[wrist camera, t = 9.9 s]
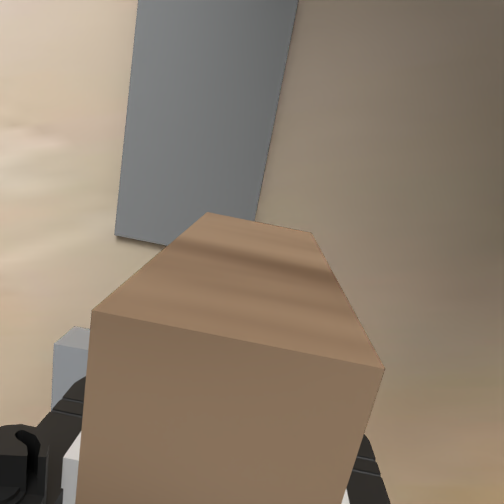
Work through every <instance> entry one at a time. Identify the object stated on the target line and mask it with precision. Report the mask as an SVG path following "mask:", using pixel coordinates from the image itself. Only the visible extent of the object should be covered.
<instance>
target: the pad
mask: <svg viewBox="0 0 504 504" xmlns="http://www.w3.org/2000/svg"><path fill="white" fill-rule="evenodd" d="M297 5H298V0H138V8H137V18H136V27H135V37H134V47H133V57H132V67H131V77H130V86H129V96H128V106H127V116H126V126H125V136H124V145H123V155H122V165H121V175H120V185H119V195H118V205H117V214H116V224H115V234H114V235H116V236H121V237H126V238H131V239H136V240H141V241H146V242H151V243H156V244H161V245H166V246H168V245H169V244H170V243H171V242H173V241H174V240H175V239H176V238H177V237H178V236H180V235H181V234H182V233H183V232H184V231H185V230H187V229H188V228H189V227H190V226H191V225H193V224H194V223H195V222H196V221H197V220H198V219H200V218H201V217H202V216H203V215H204V214H205V213H207V212H210V213H215V214H220V215H225V216H230V217H235V218H240V219H245V220H250V221H254V220H255V215H256V210H257V205H258V200H259V195H260V190H261V185H262V180H263V175H264V170H265V165H266V160H267V155H268V150H269V145H270V140H271V135H272V130H273V125H274V120H275V115H276V110H277V105H278V100H279V95H280V90H281V85H282V80H283V75H284V70H285V65H286V60H287V55H288V50H289V45H290V40H291V35H292V30H293V25H294V20H295V15H296V10H297Z"/></svg>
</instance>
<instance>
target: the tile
mask: <svg viewBox="0 0 504 504" xmlns="http://www.w3.org/2000/svg"><path fill="white" fill-rule="evenodd" d="M89 337H90V329H86V328H81V327H75V326H74V327H73V328H72V329H71V330H70V331H68V332H67V333H66V334H65V335H64V336H63V337H61V338H60V339H59V340H58V341H57V342H56V343H54V354H53V379H52V403H51V411H52V408H53V407H54V406H55V405H56V404H57V403H58V401H59V400H62V397H63V396H64V394H65V393H66V392H67V391H68V390H69V389H70V387H71V386H72V385H73V384H74V383H75V382H77V381H78V380H80V379H82V378H83V377H85V376H86V372H87V360H88V348H89Z"/></svg>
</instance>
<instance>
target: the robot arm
mask: <svg viewBox="0 0 504 504" xmlns="http://www.w3.org/2000/svg"><path fill="white" fill-rule="evenodd" d="M85 383H86V376H85V377H83V378H82V379H80V380H78V381H77V382H75V383H74V384H73V385H72V386H71V387H70V389H69V390H68V391H67V392H66V393H65V394H64V396H63V397H62V400H59V401H58V403H57V404H56V405H55V406H54V407H53V408H52V411H51V412H49V413H48V414H47V415H46V417H45V418H44V419H43V420H42V421H41V422H40V424H39V425H38V426H37V427H32V426H27V425H23V424H19V425H5V426H1V427H0V504H75V500H76V488H77V476H78V465H79V453H80V441H81V430H82V418H83V406H84V395H85ZM341 504H390V501H389V498H388V495H387V492H386V489H385V486H384V483H383V480H382V478H381V477H380V471H379V468H378V465H377V462H375V456H374V453H373V450H372V447H371V444H370V441H369V440H368V438H367V437H366V436H365V434H364V435H363V438H362V441H361V444H360V447H359V451H358V454H357V457H356V460H355V463H354V466H353V469H352V472H351V475H350V478H349V481H348V484H347V487H346V490H345V494H344V497H343V500H342V503H341Z"/></svg>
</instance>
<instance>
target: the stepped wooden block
mask: <svg viewBox="0 0 504 504" xmlns="http://www.w3.org/2000/svg"><path fill="white" fill-rule="evenodd" d="M384 371H385V368H384V366H383V364H382V362H381V360H380V359H379V357H378V355H377V353H376V351H375V349H374V347H373V346H372V344H371V342H370V340H369V338H368V336H367V335H366V333H365V331H364V329H363V327H362V325H361V323H360V322H359V320H358V318H357V316H356V314H355V312H354V311H353V309H352V307H351V305H350V303H349V301H348V299H347V298H346V296H345V294H344V292H343V290H342V288H341V286H340V285H339V283H338V281H337V279H336V277H335V275H334V274H333V272H332V270H331V268H330V266H329V264H328V262H327V261H326V259H325V257H324V255H323V253H322V251H321V250H320V248H319V246H318V244H317V242H316V240H315V238H314V237H313V235H312V233H309V232H304V231H299V230H294V229H289V228H284V227H279V226H274V225H269V224H264V223H260V222H255V221H250V220H245V219H240V218H235V217H230V216H225V215H220V214H215V213H210V212H207V213H205V214H204V215H203V216H202V217H201V218H200V219H198V220H197V221H196V222H195V223H194V224H193V225H191V226H190V227H189V228H188V229H187V230H185V231H184V232H183V233H182V234H181V235H180V236H178V237H177V238H176V239H175V240H174V241H173V242H171V243H170V244H169V245H168V246H167V247H165V248H164V249H163V250H162V251H161V252H160V253H158V254H157V255H156V256H155V257H154V258H153V259H151V260H150V261H149V262H148V263H147V264H145V265H144V266H143V267H142V268H141V269H140V270H138V271H137V272H136V273H135V274H134V275H133V276H131V277H130V278H129V279H128V280H127V281H126V282H124V283H123V284H122V285H121V286H120V287H118V288H117V289H116V290H115V291H114V292H113V293H111V294H110V295H109V296H108V297H107V298H106V299H104V300H103V301H102V302H101V303H100V304H98V305H97V306H96V307H95V308H94V309H93V310H92V313H91V325H90V337H89V348H88V360H87V372H86V383H85V395H84V406H83V418H82V430H81V441H80V453H79V465H78V476H77V488H76V500H75V504H341V503H342V500H343V497H344V494H345V490H346V487H347V484H348V481H349V478H350V475H351V472H352V469H353V466H354V463H355V460H356V457H357V454H358V451H359V447H360V444H361V441H362V438H363V435H364V432H365V429H366V426H367V423H368V420H369V417H370V414H371V411H372V408H373V405H374V401H375V398H376V395H377V392H378V389H379V386H380V383H381V380H382V377H383V374H384Z"/></svg>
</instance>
